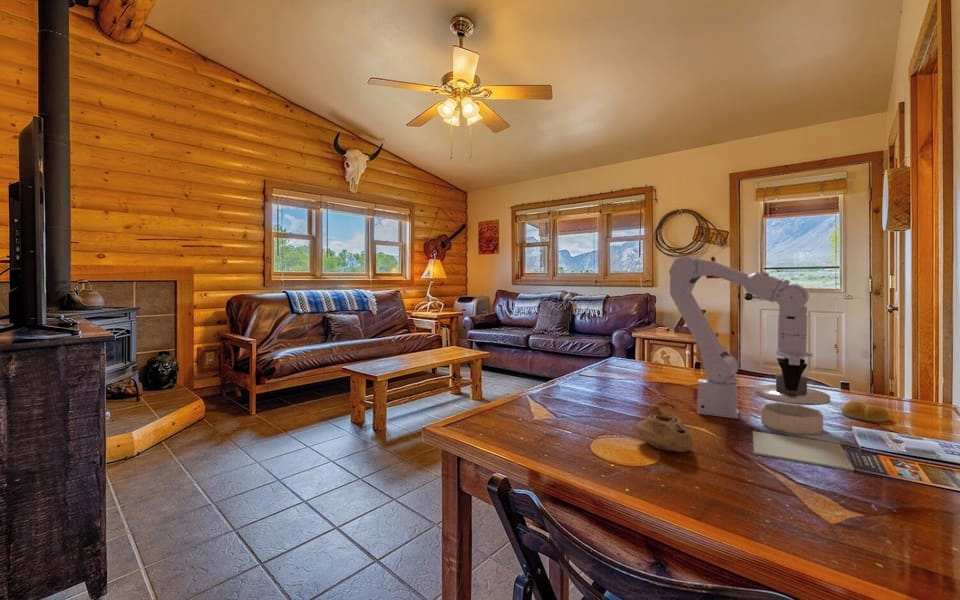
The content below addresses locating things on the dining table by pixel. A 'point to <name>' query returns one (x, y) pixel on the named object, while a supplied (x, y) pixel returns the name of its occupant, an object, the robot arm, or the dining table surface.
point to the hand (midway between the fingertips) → (790, 388)
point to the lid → (792, 393)
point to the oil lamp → (664, 431)
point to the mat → (801, 450)
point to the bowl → (791, 418)
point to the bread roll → (865, 412)
